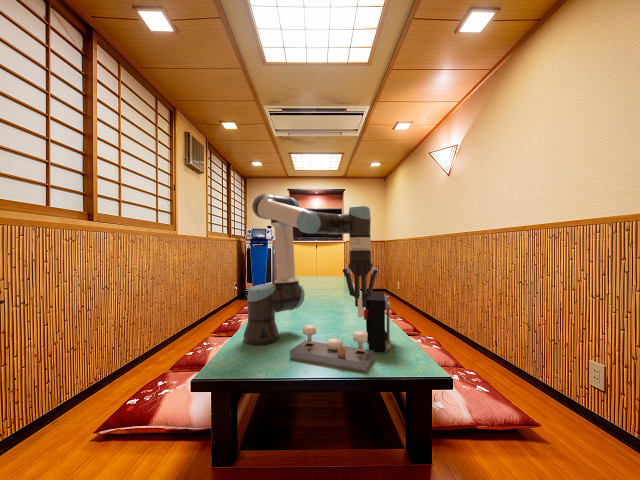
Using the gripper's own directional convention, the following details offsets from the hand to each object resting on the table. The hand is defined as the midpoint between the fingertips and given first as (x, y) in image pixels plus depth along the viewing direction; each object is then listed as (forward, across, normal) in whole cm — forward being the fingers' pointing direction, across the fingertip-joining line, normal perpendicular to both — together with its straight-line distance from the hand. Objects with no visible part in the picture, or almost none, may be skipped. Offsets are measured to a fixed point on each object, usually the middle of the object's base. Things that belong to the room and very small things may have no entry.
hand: (361, 316), depth 102 cm
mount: (+16, -10, -2) cm, 19 cm away
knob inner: (+11, -20, 0) cm, 23 cm away
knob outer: (+11, 0, 0) cm, 11 cm away
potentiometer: (+13, -5, -6) cm, 15 cm away
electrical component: (+16, +2, +19) cm, 25 cm away
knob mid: (+15, -10, 0) cm, 19 cm away
